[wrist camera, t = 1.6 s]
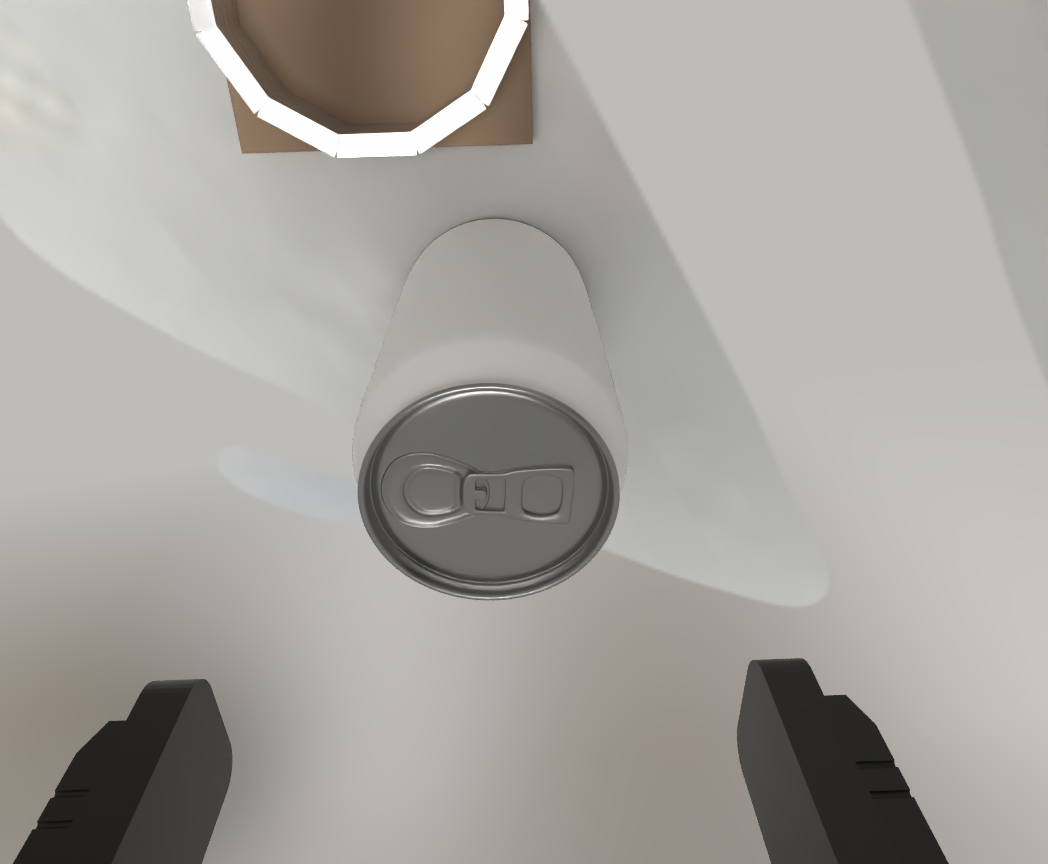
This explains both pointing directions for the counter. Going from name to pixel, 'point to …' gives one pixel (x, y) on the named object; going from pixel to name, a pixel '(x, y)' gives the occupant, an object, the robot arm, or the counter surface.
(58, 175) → the counter surface
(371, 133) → the collar
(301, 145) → the board
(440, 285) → the can
